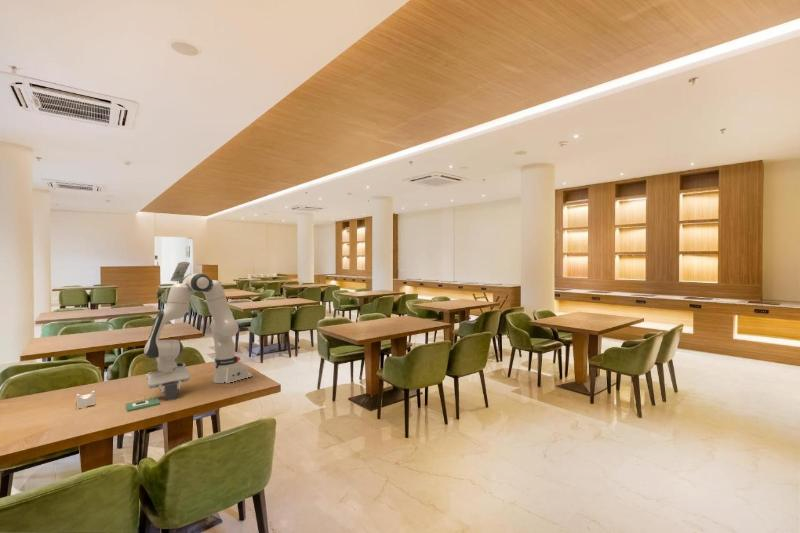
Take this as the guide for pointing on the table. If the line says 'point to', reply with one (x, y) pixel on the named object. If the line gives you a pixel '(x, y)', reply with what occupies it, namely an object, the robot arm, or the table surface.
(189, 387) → the table surface
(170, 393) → the block
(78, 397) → the bracket
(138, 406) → the header board
